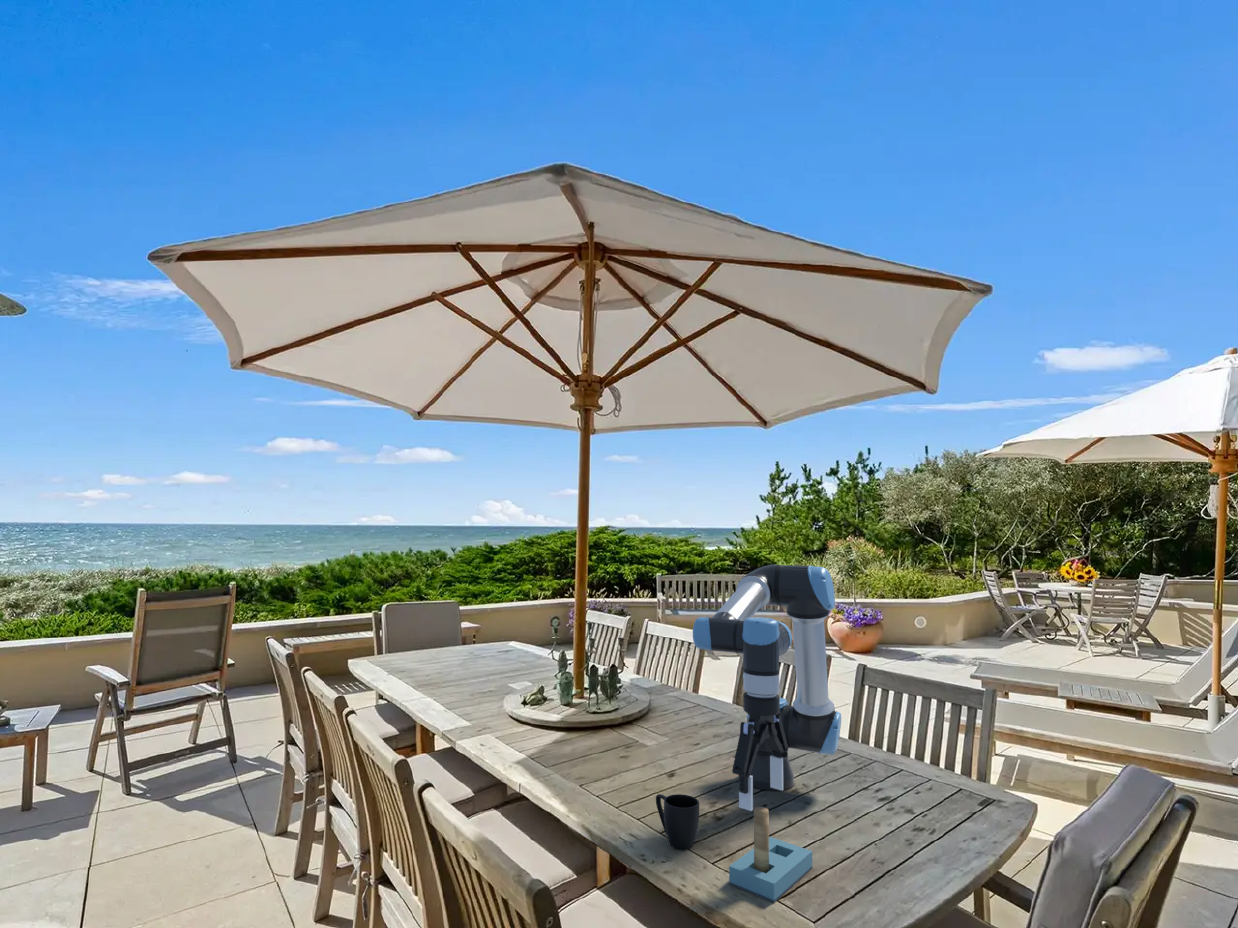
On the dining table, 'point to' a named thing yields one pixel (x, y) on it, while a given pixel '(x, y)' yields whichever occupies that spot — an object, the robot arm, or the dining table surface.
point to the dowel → (761, 839)
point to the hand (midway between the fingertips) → (762, 798)
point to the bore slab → (771, 870)
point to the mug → (679, 819)
